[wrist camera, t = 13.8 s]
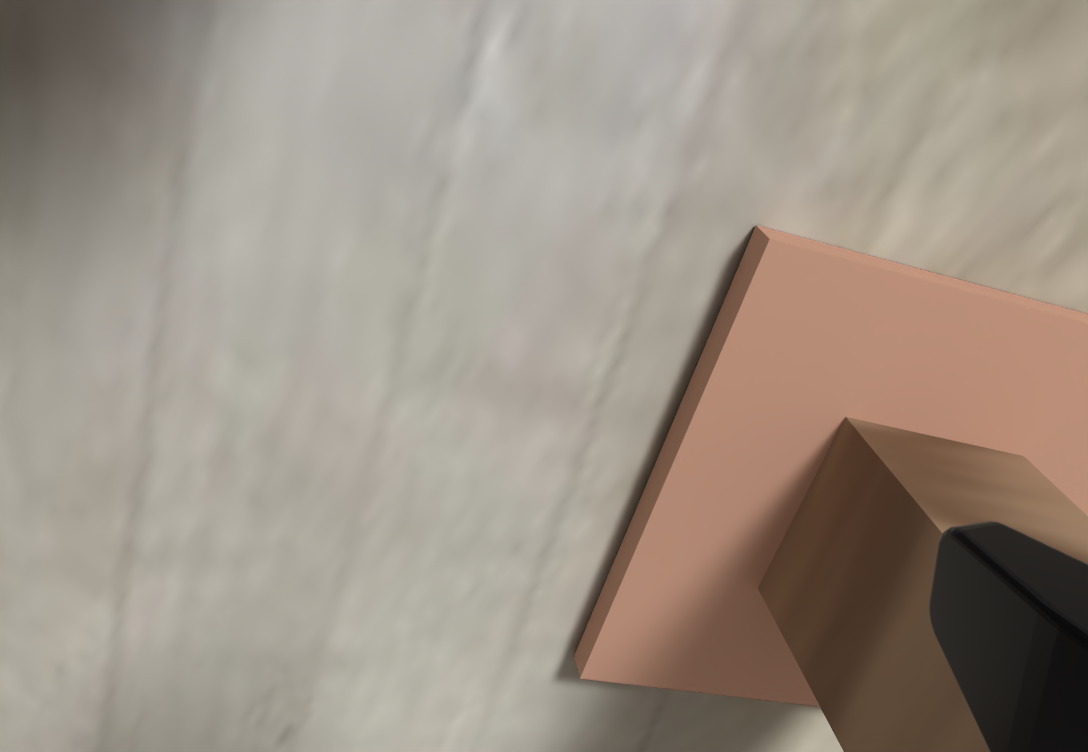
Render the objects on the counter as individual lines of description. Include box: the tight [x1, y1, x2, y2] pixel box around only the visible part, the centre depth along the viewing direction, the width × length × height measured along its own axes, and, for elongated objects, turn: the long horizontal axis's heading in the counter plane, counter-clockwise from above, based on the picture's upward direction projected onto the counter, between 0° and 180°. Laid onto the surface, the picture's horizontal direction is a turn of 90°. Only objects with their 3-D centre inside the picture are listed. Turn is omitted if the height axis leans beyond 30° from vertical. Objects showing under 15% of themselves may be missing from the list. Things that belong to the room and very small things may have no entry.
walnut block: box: [758, 417, 1088, 752], centre depth 20 cm, size 5×5×9 cm
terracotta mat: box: [574, 225, 1088, 707], centre depth 25 cm, size 12×12×1 cm
